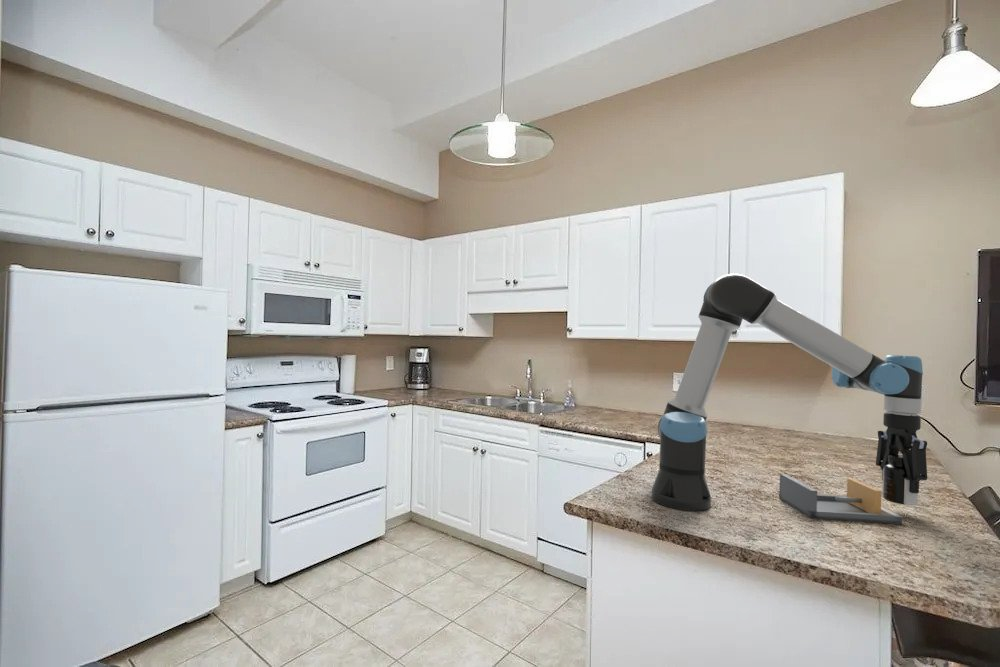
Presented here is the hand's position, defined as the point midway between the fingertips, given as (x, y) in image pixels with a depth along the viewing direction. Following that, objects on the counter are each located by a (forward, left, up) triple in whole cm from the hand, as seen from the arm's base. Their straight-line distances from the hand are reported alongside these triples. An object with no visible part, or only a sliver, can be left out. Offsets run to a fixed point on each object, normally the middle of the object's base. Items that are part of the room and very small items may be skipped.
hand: (899, 499), depth 124 cm
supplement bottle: (0, 0, -1) cm, 1 cm away
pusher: (-12, 0, -3) cm, 12 cm away
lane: (-16, 0, -4) cm, 16 cm away
